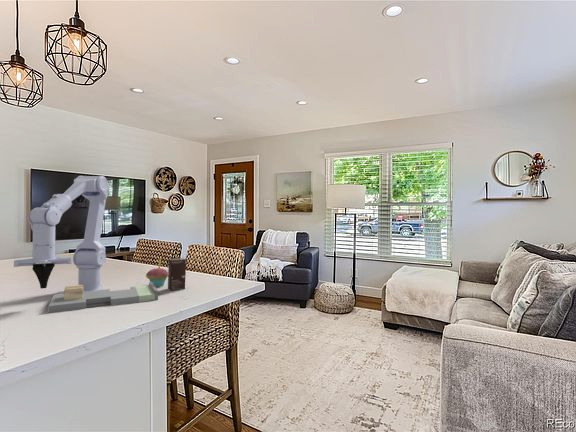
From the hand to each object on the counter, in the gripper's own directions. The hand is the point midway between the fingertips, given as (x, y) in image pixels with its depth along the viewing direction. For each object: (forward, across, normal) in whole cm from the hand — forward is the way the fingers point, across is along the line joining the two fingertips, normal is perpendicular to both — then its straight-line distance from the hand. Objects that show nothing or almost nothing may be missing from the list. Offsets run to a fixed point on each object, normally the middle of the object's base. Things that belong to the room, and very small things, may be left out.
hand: (43, 287), depth 102 cm
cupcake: (+6, +36, +15) cm, 39 cm away
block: (+4, +8, 0) cm, 9 cm away
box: (+6, +42, +6) cm, 43 cm away
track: (+6, +17, 0) cm, 18 cm away
